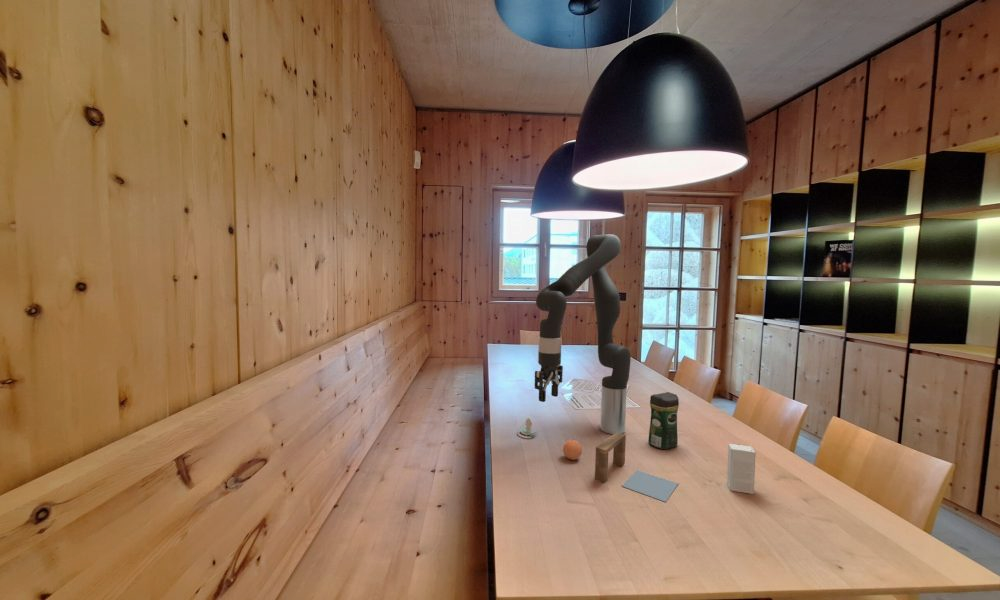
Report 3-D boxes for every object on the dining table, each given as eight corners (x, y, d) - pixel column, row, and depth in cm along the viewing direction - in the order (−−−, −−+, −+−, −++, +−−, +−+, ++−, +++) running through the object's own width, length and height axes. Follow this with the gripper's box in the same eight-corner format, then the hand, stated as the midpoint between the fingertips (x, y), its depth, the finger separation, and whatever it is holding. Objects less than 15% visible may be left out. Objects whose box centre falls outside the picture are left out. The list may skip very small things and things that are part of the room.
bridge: (594, 479, 116) (595, 447, 116) (615, 461, 128) (616, 432, 127) (604, 483, 114) (605, 450, 114) (624, 464, 126) (625, 434, 125)
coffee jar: (662, 438, 147) (664, 388, 146) (681, 446, 140) (683, 394, 139) (643, 442, 143) (646, 392, 142) (662, 451, 136) (664, 398, 135)
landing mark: (636, 470, 122) (637, 470, 122) (678, 484, 115) (678, 483, 115) (621, 486, 113) (621, 485, 113) (665, 502, 105) (665, 501, 105)
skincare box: (749, 487, 114) (752, 446, 113) (753, 494, 110) (756, 452, 109) (725, 483, 116) (728, 443, 115) (729, 490, 112) (731, 449, 111)
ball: (568, 452, 134) (569, 435, 133) (584, 458, 130) (585, 440, 129) (559, 459, 129) (559, 441, 128) (576, 464, 125) (576, 446, 125)
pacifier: (526, 441, 143) (539, 437, 146) (526, 424, 142) (539, 420, 146) (513, 434, 149) (526, 430, 152) (513, 418, 148) (526, 414, 152)
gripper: (547, 355, 125) (546, 406, 126) (570, 348, 136) (568, 396, 137) (528, 351, 130) (527, 401, 131) (551, 346, 141) (550, 391, 142)
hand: (548, 398), depth 134 cm, fingers open, 7 cm apart
